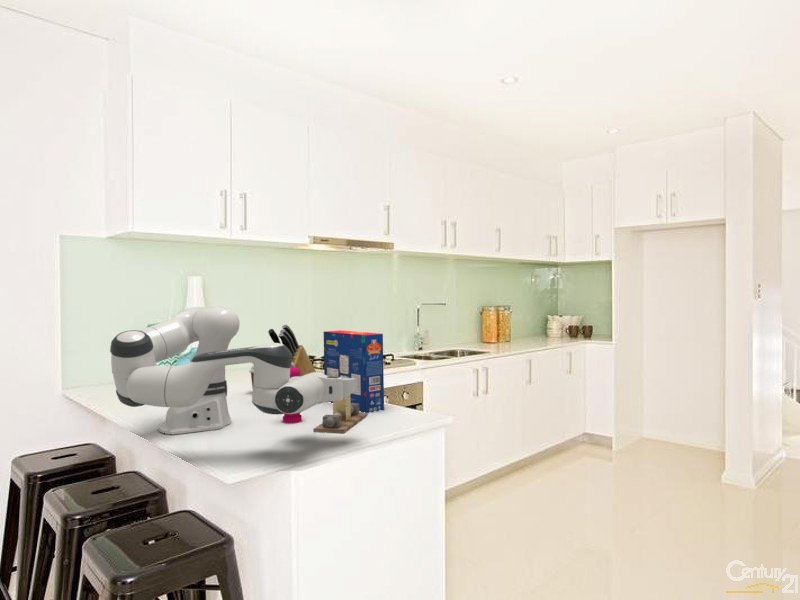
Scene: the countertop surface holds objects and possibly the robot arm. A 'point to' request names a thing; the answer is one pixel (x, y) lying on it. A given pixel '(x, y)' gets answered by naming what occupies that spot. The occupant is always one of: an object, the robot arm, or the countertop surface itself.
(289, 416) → the pepper mill
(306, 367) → the knife block
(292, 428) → the countertop surface
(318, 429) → the shaft bench
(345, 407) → the block
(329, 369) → the pasta box
